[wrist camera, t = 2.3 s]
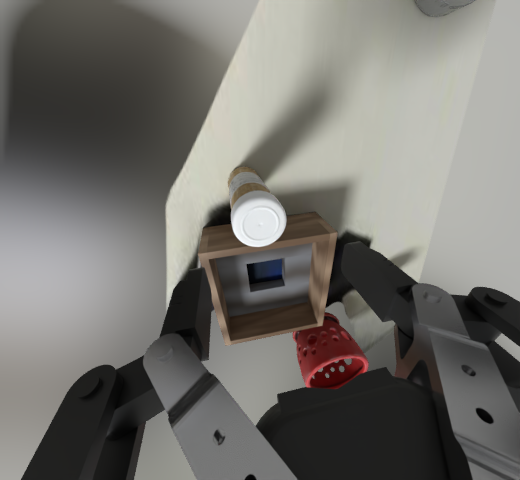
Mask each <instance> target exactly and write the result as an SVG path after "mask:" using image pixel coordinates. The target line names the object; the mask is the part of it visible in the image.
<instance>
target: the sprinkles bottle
mask: <svg viewBox="0 0 520 480" xmlns="http://www.w3.org/2000/svg"><path fill="white" fill-rule="evenodd" d="M228 187H229V195H230V204H231V209H232V211H231V223H232V228H233V232H234V234H235V235H236V237H237V238H238V239H239V240H240V241H241V242H242V243H244V244H246V245H249V246H252V247H262V246H266V245H269V244H271V243H273V242H275V241H276V240H277V239H278V238H279V237H280V236H281V235H282V233H283V232H284V229H285V227H286V222H287V218H286V213H285V210H284V208H283V206H282V205H281V203H280V202H279V201H278V199H277V198H276V197H275V196H274V195H272V194H271V193H270V191H269V189H268V188H267V187H266V185H265V184H264V183H263V181H262V180H261V179H260V178H259V176H258V174H257V173H256V172H255V171H254V170H253V169H251V168H249V167H239V168H237V169H235V170H234V171H233V172H232V173H231V174H230V177H229V180H228Z"/></svg>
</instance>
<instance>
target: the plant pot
mask: <svg viewBox="0 0 520 480" xmlns="http://www.w3.org/2000/svg"><path fill="white" fill-rule="evenodd" d="M293 339H294V341H295V342H296V343H297V357H298V362H299V365H300V369H301V373H302V376H303V379H304V382H305V385H306V387H311V388H325V389H338V388H340V387H342V386H343V385H344V384H346V383H347V382H349V381H350V380H352V379H353V378H355V377H356V376H357V375H359V374H360V373H364V372H366V371H367V369H368V360H367V358H366V356H365V355H364V353H363V352H362V350H361V349H360V347H359V346H358V344H357V343H356V342H355V340H354V339H353V338H352V337H351V336H350V334H349V333H348V332H347V331H346V330H345V329H344V328H342V327H341V326H340V325H339V320H338V319H337V318H336V317H335V316H334V315H332V314H330V313H326V312H325V313H324V319H323V325H322V326H318V327H313V328H309V329H304V330H299V331H294V332H293ZM347 358H351V359H352V363H351V364H350V365H347V364H346V363H345V362H344V359H347ZM338 360H339V362H338V363H335V361H338ZM340 366H344V368H345V370H344V372H340V371H339V367H340ZM322 367H323V371H322V372H318V370H319V369H321V368H322ZM331 367H333V368H334V369H335V371H334V372H332V371H331V370H330V369H331ZM326 373H327V374H329V376H330V377H329V378H326V377H325V374H326ZM313 375H314V378H315V379H313V378H312V376H313Z"/></svg>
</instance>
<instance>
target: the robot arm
mask: <svg viewBox="0 0 520 480" xmlns="http://www.w3.org/2000/svg"><path fill="white" fill-rule="evenodd" d="M415 1H416V3H417V5H418V7H419V8H420V9H421V10H422V12H424V13H426V14H427V15H429V16H435V17H437V16H443V15H446V14H448V13H450V12H452V11H454V10H456V9H458V8H461V7H464V6H466V5H468V4H470V3H472V2H474V1H475V0H415ZM341 270H342V273H343V275H344V276H345V277H346V278H347V280H348V281H349V282H350V283H351V284H352V286H353V287H354V288H355V289H356V290H357V292H358V293H359V294H360V295H361V296H362V298H363V299H364V300H365V301H366V303H367V304H368V305H369V306H370V307H371V309H372V310H373V311H374V312H375V313H376V315H377V316H378V317H379V318H380V319H381V321H382V322H386V321H391V320H393V321H394V322H395V326H394V336H395V347H396V361H397V365H396V371H395V376H392V375H391V374H390V372H389V371H388V369H387V368H386V367H384V368H380V369H376V370H372V371H368V372H364V373H360V374H359V375H357V376H356V377H355V378H353V379H352V380H350V381H349V382H347V383H346V384H344V385H343V386H342V387H340V388H338V389H325V388H311V387H305V388H300V389H296V390H292V391H288V392H284V393H280V394H277V398H278V403H277V404H275V405H274V406H273V407H271V408H270V409H269V410H268V411H267V412H266V413H265V414H264V415H263V416H262V417H261V419H260V420H259V422H258V423H257V425H256V426H255V425H254V424H253V423H252V421H251V420H250V419H249V418H248V416H247V415H246V414H245V413H244V411H243V410H242V409H241V407H240V406H239V405H238V404H237V403H236V401H235V400H234V399H233V398H232V396H231V395H230V394H229V393H228V391H227V390H226V389H225V387H224V386H223V385H222V384H221V382H220V381H219V380H218V379H217V378H216V376H215V375H213V374H211V373H210V372H209V371H208V370H207V369H206V367H205V366H204V365H203V364H202V362H201V361H205V360H209V359H208V358H209V342H210V324H211V306H212V293H211V288H210V284H209V281H208V277H207V274H206V271H205V268H204V267H202V268H196V269H190V270H189V272H188V276H187V280H183V281H180V282H179V283H178V284H177V286H176V287H175V288H174V290H173V293H172V297H171V300H170V303H169V307H168V310H167V314H166V317H165V320H164V324H163V327H162V331H161V334H160V337H159V338H158V339H157V340H155V341H154V342H153V343H152V344H151V345H150V346H149V348H148V349H147V351H146V353H145V355H143V356H142V357H140V358H138V359H137V360H135V361H133V362H131V363H129V364H127V365H125V366H123V367H121V368H119V369H117V370H115V368H114V367H113V366H111V365H101V366H98V367H96V368H93V369H92V370H90V371H88V372H87V373H85V374H84V375H83V376H81V377H80V378H79V379H78V380H77V381H76V382H75V383H74V384H73V386H72V387H71V388H70V389H69V391H68V392H67V394H66V396H65V398H64V400H63V402H62V403H61V405H60V407H59V409H58V411H57V413H56V415H55V416H54V419H53V420H52V422H51V424H50V426H49V428H48V430H47V432H46V433H45V435H44V437H43V439H42V441H41V443H40V445H39V446H38V448H37V450H36V452H35V454H34V456H33V458H32V460H31V462H30V463H29V465H28V467H27V469H26V471H25V473H24V475H23V477H22V479H21V480H134V476H135V472H136V467H137V462H138V457H139V452H140V447H141V443H142V438H143V433H144V429H145V424H146V421H148V420H149V419H151V418H152V417H154V416H155V415H157V414H158V413H160V412H162V411H163V410H166V412H167V414H168V416H169V419H168V420H169V423H170V425H171V428H172V430H173V432H174V434H175V436H176V438H177V440H178V442H179V444H180V446H181V448H182V451H183V453H184V454H185V457H186V459H187V460H188V463H189V465H190V467H191V469H192V471H193V473H194V475H195V477H196V479H197V480H520V414H519V413H520V362H519V361H518V360H517V359H515V358H514V357H513V356H512V355H510V354H509V353H508V352H507V351H506V350H504V349H503V348H502V347H501V346H499V345H498V344H497V343H496V342H495V341H494V340H495V339H496V338H497V337H498V336H499V335H500V334H501V333H503V334H504V335H505V336H507V337H508V338H509V339H511V340H512V341H513V342H514V343H516V344H517V345H518V346H520V302H519V301H517V300H515V299H513V298H512V297H510V296H509V295H507V294H505V293H503V292H500V291H498V290H495V289H491V288H487V287H475V288H473V289H472V290H471V292H470V293H469V294H468V296H462V295H450V294H449V293H447V292H446V291H444V290H443V289H441V288H439V287H436V286H434V285H430V284H424V283H417V282H416V281H415V280H413V279H412V278H411V277H410V276H408V275H407V274H406V273H405V272H403V271H402V270H401V269H400V268H398V267H397V266H396V265H394V264H393V263H392V262H391V261H389V260H387V258H386V257H384V256H383V255H382V254H381V253H379V252H377V251H374V250H372V249H369V248H368V247H367V246H365V245H364V244H363V243H362V242H354V243H348V244H346V245H345V246H344V251H343V256H342V262H341Z"/></svg>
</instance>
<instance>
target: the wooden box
mask: <svg viewBox="0 0 520 480" xmlns="http://www.w3.org/2000/svg"><path fill="white" fill-rule="evenodd" d="M286 218H287V222H286V227H285V229H284V232H283V233H282V235H281V236H280V237H279V238H278V239H277V240H276V241H275V242H273V243H271V244H269V245H266V246H262V247H252V246H249V245H246V244H244V243H242V242H241V241H240V240H239V239H238V238H237V237H236V235H235V234H234V232H233V228H232V224H227V225H220V226H213V227H206V228H203V231H202V236H201V242H200V247H199V252H198V255H199V258H200V262H201V265H202V267H204V268H205V271H206V274H207V277H208V281H209V284H210V288H211V293H212V302H213V305H214V308H215V312H216V315H217V318H218V322H219V325H220V328H221V332H222V335H223V338H224V342H225V345H226V346H227V345H232V344H237V343H241V342H246V341H251V340H256V339H261V338H266V337H270V336H275V335H280V334H284V333H289V332H294V331H299V330H304V329H309V328H313V327H318V326H322V325H323V319H324V313H325V307H326V301H327V295H328V288H329V282H330V276H331V270H332V264H333V258H334V252H335V246H336V240H337V233H338V232H337V231H336V230H335V229H333V228H332V227H331V226H330V225H329V224H328V223H327V222H326V221H325V220H324V219H323V218H321V217H320V216H319V215H318V214H317V213H316V212H312V213H305V214H298V215H291V216H286ZM281 258H282V279H278V280H272V281H267V282H261V283H255V284H250V285H249V279H248V272H247V265H246V264H251V263H257V262H263V261H269V260H275V259H281Z"/></svg>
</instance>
